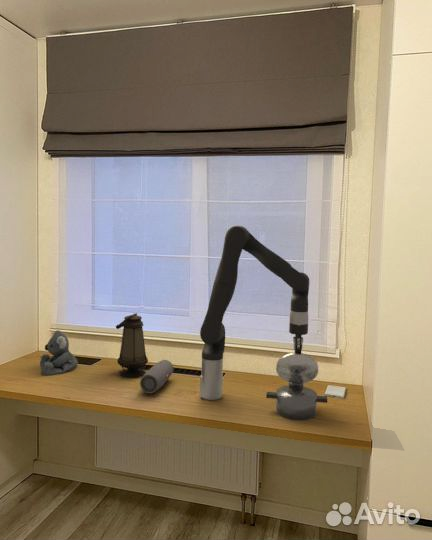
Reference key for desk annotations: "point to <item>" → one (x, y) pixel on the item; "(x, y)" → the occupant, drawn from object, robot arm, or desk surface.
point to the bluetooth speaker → (156, 376)
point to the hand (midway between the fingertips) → (297, 363)
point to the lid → (297, 368)
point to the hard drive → (335, 391)
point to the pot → (296, 402)
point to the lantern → (132, 347)
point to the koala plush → (57, 356)
